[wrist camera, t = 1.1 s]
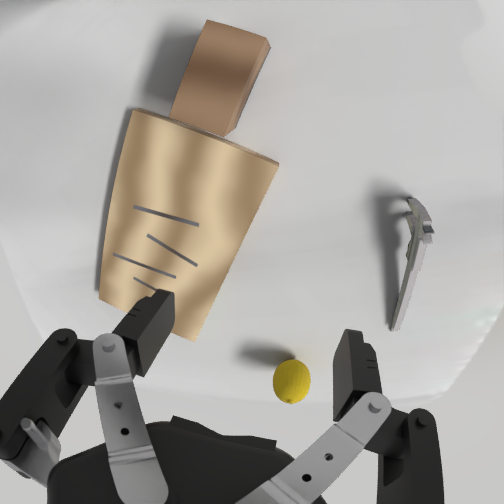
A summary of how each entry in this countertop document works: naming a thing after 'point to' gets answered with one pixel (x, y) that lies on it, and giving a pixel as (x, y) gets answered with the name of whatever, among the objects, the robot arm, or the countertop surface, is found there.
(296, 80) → the countertop surface
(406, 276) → the caliper
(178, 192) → the plywood board
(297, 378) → the lemon
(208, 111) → the block
